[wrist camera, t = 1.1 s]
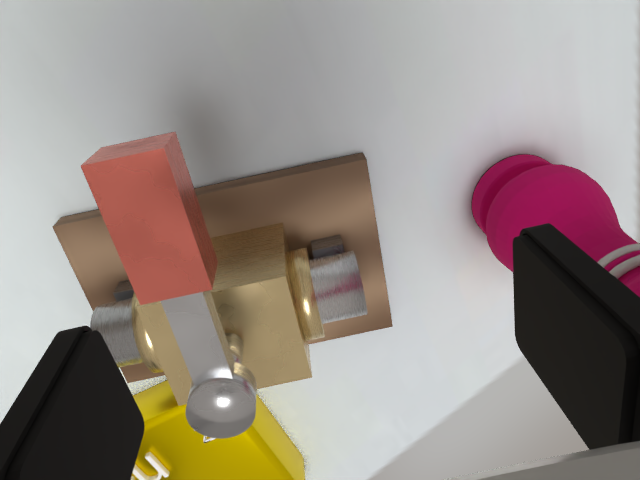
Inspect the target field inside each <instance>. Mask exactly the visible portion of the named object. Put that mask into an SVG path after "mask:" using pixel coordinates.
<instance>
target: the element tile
mask: <svg viewBox="0 0 640 480" xmlns="http://www.w3.org/2000/svg"><path fill="white" fill-rule="evenodd" d="M133 398H134V400H135V402H136V404H137V406H138V408H139V410H140V412H141V414H142V416H143V419H144V426H145V427H144V434H143V438H142V441H141V445H140V448H139V452H138V455H137V459H136V462H135V466H134V469H133V473H132V476H131V480H305V471H304V459H303V457H302V455H301V453H300V452H299V450H298V449H297V448H296V446H295V445H294V444H293V442H292V441H291V440H290V438H289V437H288V436H287V434H286V433H285V431H284V430H283V429H282V427H281V426H280V425H279V423H278V422H277V421H276V419H275V418H274V417H273V415H272V414H271V413H270V411H269V410H268V408H267V407H266V406H265V404H264V403H263V402H262V400H261V399H260V398H259V396H258V395H257V394H256V415H255V419H254V421H253V423H252V425H251V426H250V427H249V428H248V429H247V430H246V431H244V432H243V433H241V434H239V435H237V436H234V437H230V438H222V439H221V438H211V437H207V436H204V435H202V434H200V433H198V432H197V431H195V430H194V429H193V428H192V427H191V426H190V425H189V423H188V421H187V419H186V406H187V404H185V405H180V406H178V403H177V401H176V399H175V396H174V394H173V392H172V389H171V387H170V385H169V383H168V380H166V381H164V382H162V383H160V384H157V385H155V386H153V387H151V388H149V389H146V390H144V391H142V392H140V393H138V394H136V395H133Z"/></svg>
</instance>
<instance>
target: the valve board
mask: <svg viewBox="0 0 640 480" xmlns="http://www.w3.org/2000/svg"><path fill="white" fill-rule="evenodd" d="M194 190H195V193H196V196H197V199H198V202H199V205H200V208H201V211H202V214H203V217H204V220H205V224H206V227H207V230H208V233H209V236H210V238H213V237H217V236H222V235H227V234H231V233H236V232H241V231H245V230H250V229H255V228H259V227H264V226H269V225H273V224H278V223H283V226H284V230H285V234H286V238H287V242H288V246H289V250H290V251H292V250H297V249H302V248H307V251H308V254H309V258H310V260H312V259H314V256H313V252H312V246H311V240H315V239H320V238H325V237H329V236H334V235H339V234H340V236H341V239H342V243H343V247H344V252H349V251H354V253H355V256H356V260H357V263H358V267H359V271H360V276H361V280H362V285H363V289H364V294H365V299H366V305H367V315H362V316H357V317H353V318H348V319H343V320H339V321H334V322H329V323H325V324H324V330H325V337H323V338H318V339H314V340H309V341H308V344H312V343H317V342H322V341H326V340H331V339H336V338H340V337H345V336H350V335H355V334H359V333H364V332H369V331H373V330H378V329H383V328H387V327H392V319H391V313H390V307H389V300H388V294H387V288H386V281H385V275H384V268H383V262H382V256H381V249H380V243H379V237H378V230H377V224H376V218H375V211H374V205H373V199H372V192H371V186H370V179H369V173H368V167H367V160H366V158H365V156H364V154H363V153H358V154H353V155H348V156H344V157H339V158H334V159H330V160H325V161H320V162H316V163H311V164H306V165H302V166H297V167H293V168H288V169H283V170H279V171H274V172H269V173H265V174H260V175H255V176H251V177H246V178H241V179H237V180H232V181H228V182H223V183H218V184H214V185H209V186H204V187H200V188H195V189H194ZM53 229H54V231H55V233H56V235H57V237H58V239H59V241H60V243H61V245H62V248H63V250H64V252H65V254H66V256H67V258H68V260H69V262H70V264H71V266H72V268H73V270H74V272H75V274H76V277H77V279H78V281H79V283H80V285H81V287H82V289H83V291H84V293H85V295H86V297H87V299H88V301H89V304H90V306H91V308H92V310H93V312H94V310H95V308H96V307H97V306H99V305H102V304H107V303H111V302H116V299H115V297H114V295H113V293H114V291H115V289H116V287H117V285H118V283H119V282H120V281H124V280H129V278H128V276H127V273H126V271H125V269H124V266H123V264H122V262H121V259H120V257H119V255H118V252H117V250H116V248H115V245H114V243H113V241H112V238H111V236H110V234H109V231H108V229H107V227H106V224H105V222H104V220H103V217H102V215H101V212H100V210H99V209H98V210H93V211H88V212H84V213H79V214H74V215H70V216H65V217H61V218H60V219H59V220H58V221H57V223H56V224H55V225H54V226H53ZM120 368H121V370H122V372H123V374H124V376H125V378H126V380H127V382H128V383H130V382H135V381H139V380H144V379H149V378H153V377H158V376H163V375H165V373H164V372H159V373H154V372H152V371H150V370H149V369H148V368H147V366H146V365H145V364H144V362H142V363H138V364H133V365H128V366H124V367H120Z"/></svg>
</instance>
